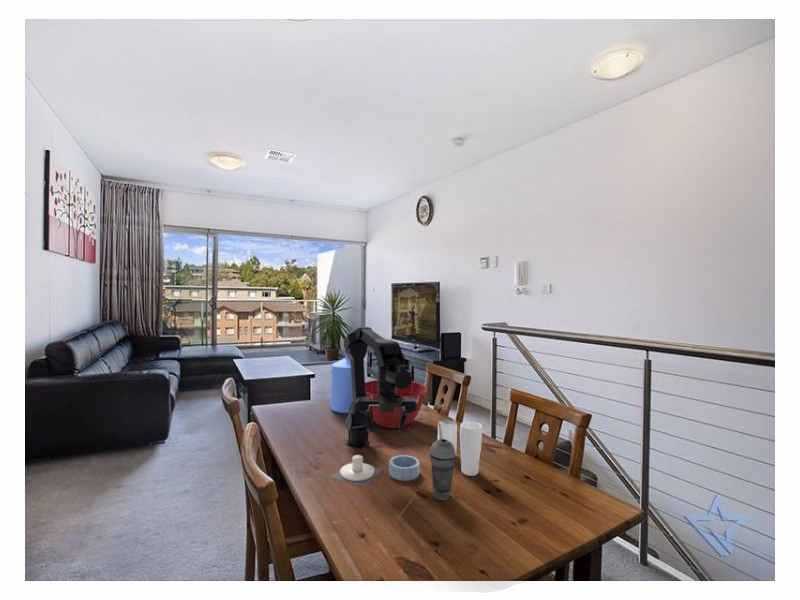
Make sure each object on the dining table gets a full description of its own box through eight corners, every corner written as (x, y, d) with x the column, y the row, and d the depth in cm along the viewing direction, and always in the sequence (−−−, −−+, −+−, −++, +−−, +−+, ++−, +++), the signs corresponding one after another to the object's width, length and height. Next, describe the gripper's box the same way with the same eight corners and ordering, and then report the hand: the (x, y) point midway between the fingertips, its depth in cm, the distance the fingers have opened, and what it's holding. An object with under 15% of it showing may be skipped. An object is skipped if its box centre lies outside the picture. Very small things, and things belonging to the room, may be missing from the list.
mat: (329, 478, 116) (329, 477, 116) (350, 462, 127) (350, 461, 127) (365, 487, 111) (365, 486, 111) (383, 469, 122) (383, 468, 122)
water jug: (354, 415, 173) (356, 353, 173) (324, 411, 179) (325, 350, 178) (369, 406, 188) (370, 348, 187) (340, 402, 193) (341, 346, 193)
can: (455, 460, 130) (456, 425, 130) (436, 458, 131) (437, 423, 131) (456, 452, 136) (457, 418, 136) (438, 450, 137) (439, 417, 137)
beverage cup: (447, 506, 102) (450, 430, 102) (423, 497, 106) (425, 424, 106) (459, 494, 109) (461, 422, 108) (435, 486, 112) (437, 417, 112)
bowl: (384, 477, 117) (384, 464, 117) (396, 465, 125) (396, 453, 125) (412, 484, 113) (413, 470, 113) (423, 471, 122) (423, 458, 122)
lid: (333, 476, 116) (333, 460, 116) (351, 462, 126) (351, 448, 125) (364, 484, 112) (364, 467, 112) (380, 469, 122) (380, 454, 121)
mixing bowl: (437, 420, 170) (438, 385, 170) (403, 440, 146) (404, 400, 146) (384, 408, 185) (385, 376, 185) (345, 425, 161) (346, 388, 161)
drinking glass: (482, 469, 124) (483, 423, 123) (479, 479, 117) (480, 430, 117) (460, 466, 126) (462, 420, 125) (456, 475, 119) (458, 427, 119)
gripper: (355, 388, 113) (354, 441, 114) (419, 388, 115) (418, 441, 115) (357, 379, 124) (356, 427, 125) (415, 379, 126) (414, 427, 126)
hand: (385, 430), depth 123 cm, fingers open, 9 cm apart
